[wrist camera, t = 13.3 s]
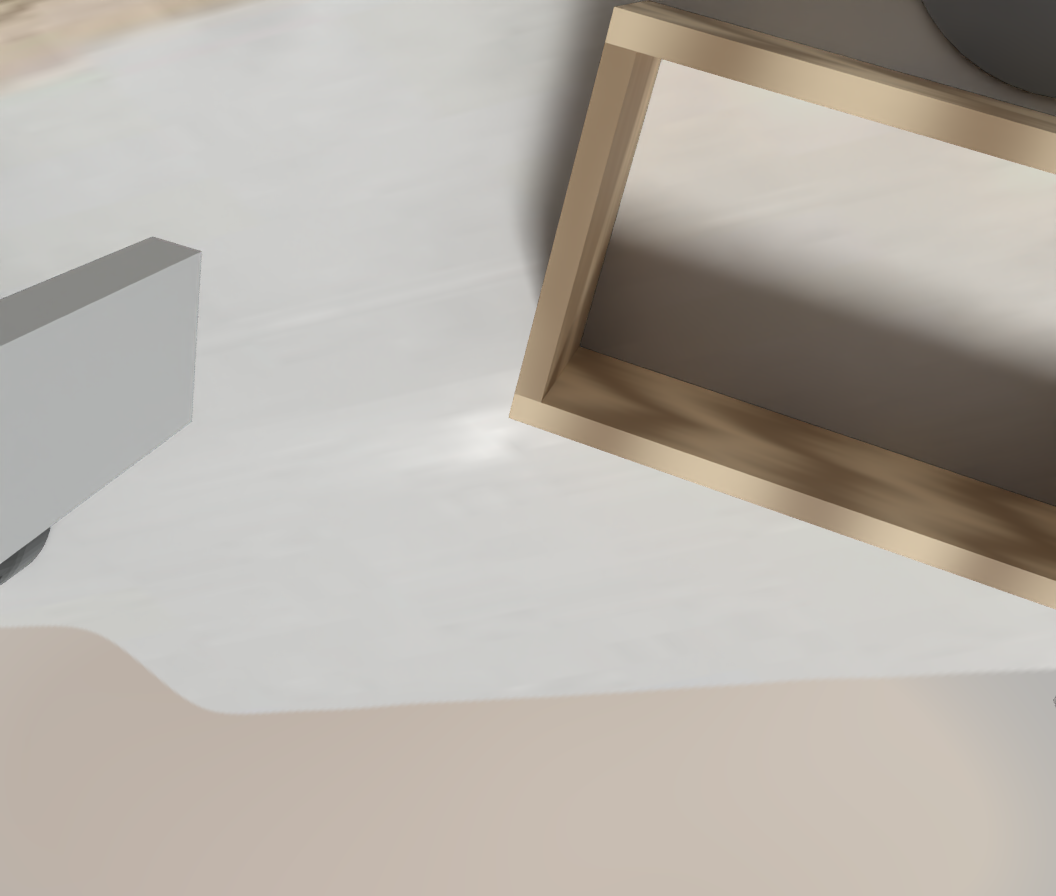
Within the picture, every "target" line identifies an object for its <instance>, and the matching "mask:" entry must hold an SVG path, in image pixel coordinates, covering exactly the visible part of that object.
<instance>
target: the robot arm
mask: <svg viewBox="0 0 1056 896" xmlns="http://www.w3.org/2000/svg"><path fill="white" fill-rule="evenodd" d="M201 254H202V251H199V250H196V249H192V248H189V247H186V246H182V245H179V244H176V243H172V242H169V241H166V240H162V239H159V238H156V237H150V238H148V239H145V240H143V241H141V242H138V243H136V244H133V245H131V246H128V247H126V248H124V249H121V250H119V251H116V252H114V253H112V254H109V255H107V256H104V257H102V258H99V259H97V260H95V261H92V262H90V263H87V264H85V265H82V266H80V267H78V268H75V269H73V270H70V271H68V272H66V273H63V274H61V275H58V276H56V277H53V278H51V279H49V280H46V281H44V282H41V283H39V284H37V285H34V286H32V287H29V288H27V289H24V290H22V291H20V292H17V293H15V294H12V295H10V296H8V297H5V298H3V299H0V585H2V584H3V583H4V582H6V581H7V580H8V579H10V578H11V577H13V576H14V575H15V574H17V573H18V572H19V571H21V570H22V569H23V568H25V567H26V566H27V565H29V564H30V563H31V562H32V561H33V560H34V559H35V558H36V557H37V555H38V554H39V553H40V551H41V550H42V548H43V546H44V544H45V542H46V540H47V537H48V534H49V531H50V527H51V526H52V525H53V524H55V523H56V522H57V521H59V520H60V519H61V518H63V517H64V516H65V515H67V514H68V513H69V512H71V511H72V510H73V509H75V508H76V507H78V506H79V505H80V504H82V503H83V502H84V501H86V500H87V499H88V498H90V497H91V496H92V495H94V494H95V493H96V492H98V491H99V490H100V489H102V488H103V487H104V486H106V485H107V484H108V483H110V482H111V481H112V480H114V479H115V478H117V477H118V476H119V475H121V474H122V473H123V472H125V471H126V470H127V469H129V468H130V467H131V466H133V465H134V464H135V463H137V462H138V461H139V460H141V459H142V458H143V457H145V456H146V455H147V454H149V453H150V452H152V451H153V450H154V449H156V448H157V447H158V446H160V445H161V444H162V443H164V442H165V441H166V440H168V439H169V438H170V437H172V436H173V435H174V434H176V433H177V432H178V431H180V430H181V429H182V428H184V427H185V426H187V425H188V424H189V423H191V422H192V410H193V393H194V375H195V358H196V341H197V323H198V306H199V288H200V271H201ZM1053 701H1054V703H1055V706H1056V697H1055V698H1054V700H1053Z"/></svg>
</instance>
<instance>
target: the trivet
mask: <svg viewBox="0 0 1056 896" xmlns="http://www.w3.org/2000/svg"><path fill="white" fill-rule="evenodd" d="M922 1H923V3H924V5H925V7H926V9H927V11H928V13H929V15H930V16H931V18H932V19H933V20H934V22H935V23H936V25H937V26H938V27H939V29H940V30H941V32H942V33H943V34H944V36H945V37H946V38H947V39H948V40H949V41H950V42H951V43H952V44H953V45H954V46H955V47H956V48H957V49H958V50H959V51H960V52H961V53H962V54H963V55H964V56H965V57H966V58H968V59H969V60H970V61H972V62H973V63H974V64H976V65H977V66H978V67H980V68H981V69H982V70H984V71H985V72H987V73H989V74H991V75H993V76H994V77H996V78H998V79H1000V80H1002V81H1004V82H1006V83H1007V84H1010V85H1012V86H1015V87H1018V88H1021V89H1024V90H1026V91H1029V92H1032V93H1035V94H1040V95H1045V96H1049V97H1054V98H1056V0H922Z"/></svg>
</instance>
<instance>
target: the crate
mask: <svg viewBox="0 0 1056 896" xmlns="http://www.w3.org/2000/svg"><path fill="white" fill-rule="evenodd" d="M661 59H664V60H667V61H671V62H674V63H677V64H681V65H684V66H688V67H691V68H694V69H698V70H701V71H705V72H708V73H712V74H715V75H718V76H722V77H725V78H729V79H732V80H735V81H739V82H742V83H746V84H749V85H752V86H756V87H759V88H763V89H766V90H770V91H773V92H776V93H780V94H783V95H787V96H790V97H793V98H797V99H800V100H804V101H807V102H811V103H814V104H817V105H821V106H824V107H828V108H831V109H834V110H838V111H841V112H845V113H848V114H852V115H855V116H858V117H862V118H865V119H869V120H872V121H875V122H879V123H882V124H886V125H889V126H893V127H896V128H899V129H903V130H906V131H910V132H913V133H916V134H920V135H923V136H927V137H930V138H933V139H937V140H940V141H944V142H947V143H951V144H954V145H957V146H961V147H964V148H968V149H971V150H974V151H978V152H981V153H985V154H988V155H992V156H995V157H998V158H1002V159H1005V160H1009V161H1012V162H1015V163H1019V164H1022V165H1026V166H1029V167H1033V168H1036V169H1039V170H1043V171H1046V172H1050V173H1053V174H1056V116H1052V115H1049V114H1045V113H1042V112H1038V111H1035V110H1031V109H1028V108H1024V107H1021V106H1017V105H1014V104H1010V103H1007V102H1003V101H1000V100H996V99H993V98H989V97H986V96H982V95H979V94H975V93H972V92H968V91H965V90H961V89H958V88H954V87H951V86H947V85H944V84H940V83H937V82H933V81H930V80H926V79H923V78H919V77H916V76H912V75H909V74H905V73H902V72H898V71H895V70H891V69H887V68H884V67H880V66H877V65H873V64H870V63H866V62H863V61H859V60H856V59H852V58H849V57H845V56H842V55H838V54H835V53H831V52H828V51H824V50H821V49H817V48H814V47H810V46H807V45H803V44H800V43H796V42H793V41H789V40H786V39H782V38H779V37H775V36H772V35H768V34H765V33H761V32H758V31H754V30H751V29H747V28H744V27H740V26H737V25H733V24H730V23H726V22H723V21H719V20H716V19H712V18H709V17H705V16H702V15H698V14H695V13H691V12H688V11H684V10H681V9H677V8H674V7H670V6H667V5H663V4H660V3H656V2H653V1H649V0H647V1H642V2H636V3H631V4H626V5H621V6H615V7H614V9H613V13H612V17H611V21H610V25H609V29H608V33H607V36H606V40H605V44H604V48H603V52H602V56H601V60H600V64H599V68H598V71H597V75H596V79H595V83H594V87H593V91H592V95H591V99H590V103H589V106H588V110H587V114H586V118H585V122H584V126H583V130H582V134H581V138H580V141H579V145H578V149H577V153H576V157H575V161H574V165H573V169H572V173H571V176H570V180H569V184H568V188H567V192H566V196H565V200H564V204H563V208H562V211H561V215H560V219H559V223H558V227H557V231H556V235H555V239H554V243H553V246H552V250H551V254H550V258H549V262H548V266H547V270H546V274H545V278H544V281H543V285H542V289H541V293H540V297H539V301H538V305H537V309H536V313H535V316H534V320H533V324H532V328H531V332H530V336H529V340H528V344H527V348H526V351H525V355H524V359H523V363H522V367H521V371H520V375H519V379H518V383H517V386H516V390H515V394H514V398H513V402H512V406H511V410H510V414H509V418H511V419H514V420H517V421H519V422H522V423H525V424H528V425H531V426H534V427H537V428H539V429H542V430H545V431H548V432H551V433H554V434H557V435H559V436H562V437H565V438H568V439H571V440H574V441H577V442H579V443H582V444H585V445H588V446H591V447H594V448H597V449H599V450H602V451H605V452H608V453H611V454H614V455H617V456H619V457H622V458H625V459H628V460H631V461H634V462H637V463H639V464H642V465H645V466H648V467H651V468H654V469H657V470H659V471H662V472H665V473H668V474H671V475H674V476H676V477H679V478H682V479H685V480H688V481H691V482H694V483H696V484H699V485H702V486H705V487H708V488H711V489H714V490H716V491H719V492H722V493H725V494H728V495H731V496H734V497H736V498H739V499H742V500H745V501H748V502H751V503H754V504H756V505H759V506H762V507H765V508H768V509H771V510H774V511H776V512H779V513H782V514H785V515H788V516H791V517H794V518H796V519H799V520H802V521H805V522H808V523H811V524H814V525H816V526H819V527H822V528H825V529H828V530H831V531H833V532H836V533H839V534H842V535H845V536H848V537H851V538H853V539H856V540H859V541H862V542H865V543H868V544H871V545H873V546H876V547H879V548H882V549H885V550H888V551H891V552H893V553H896V554H899V555H902V556H905V557H908V558H911V559H913V560H916V561H919V562H922V563H925V564H928V565H931V566H933V567H936V568H939V569H942V570H945V571H948V572H951V573H953V574H956V575H959V576H962V577H965V578H968V579H971V580H973V581H976V582H979V583H982V584H985V585H988V586H990V587H993V588H996V589H999V590H1002V591H1005V592H1008V593H1010V594H1013V595H1016V596H1019V597H1022V598H1025V599H1028V600H1030V601H1033V602H1036V603H1039V604H1042V605H1045V606H1048V607H1050V608H1053V609H1056V507H1055V506H1052V505H1049V504H1046V503H1043V502H1040V501H1037V500H1034V499H1031V498H1028V497H1025V496H1022V495H1019V494H1016V493H1013V492H1010V491H1007V490H1004V489H1002V488H999V487H996V486H993V485H990V484H987V483H984V482H981V481H978V480H975V479H972V478H969V477H966V476H963V475H960V474H957V473H954V472H951V471H948V470H945V469H942V468H939V467H936V466H933V465H930V464H927V463H924V462H921V461H918V460H915V459H912V458H909V457H906V456H904V455H901V454H898V453H895V452H892V451H889V450H886V449H883V448H880V447H877V446H874V445H871V444H868V443H865V442H862V441H859V440H856V439H853V438H850V437H847V436H844V435H841V434H838V433H835V432H832V431H829V430H826V429H823V428H820V427H817V426H814V425H811V424H808V423H806V422H803V421H800V420H797V419H794V418H791V417H788V416H785V415H782V414H779V413H776V412H773V411H770V410H767V409H764V408H761V407H758V406H755V405H752V404H749V403H746V402H743V401H740V400H737V399H734V398H731V397H728V396H725V395H722V394H719V393H716V392H713V391H710V390H708V389H705V388H702V387H699V386H696V385H693V384H690V383H687V382H684V381H681V380H678V379H675V378H672V377H669V376H666V375H663V374H660V373H657V372H654V371H651V370H648V369H645V368H642V367H639V366H636V365H633V364H630V363H627V362H624V361H621V360H618V359H615V358H612V357H610V356H607V355H604V354H601V353H598V352H595V351H592V350H589V349H586V348H583V347H580V342H581V339H582V335H583V332H584V328H585V325H586V321H587V318H588V314H589V311H590V307H591V304H592V300H593V297H594V293H595V290H596V286H597V283H598V279H599V276H600V272H601V269H602V265H603V262H604V258H605V255H606V251H607V248H608V244H609V241H610V237H611V234H612V230H613V227H614V223H615V220H616V216H617V213H618V209H619V206H620V202H621V199H622V195H623V192H624V188H625V185H626V181H627V178H628V174H629V171H630V167H631V164H632V160H633V157H634V153H635V150H636V146H637V143H638V139H639V136H640V132H641V129H642V125H643V122H644V118H645V115H646V111H647V108H648V104H649V101H650V97H651V94H652V90H653V87H654V83H655V80H656V76H657V73H658V69H659V66H660V62H661Z"/></svg>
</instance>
